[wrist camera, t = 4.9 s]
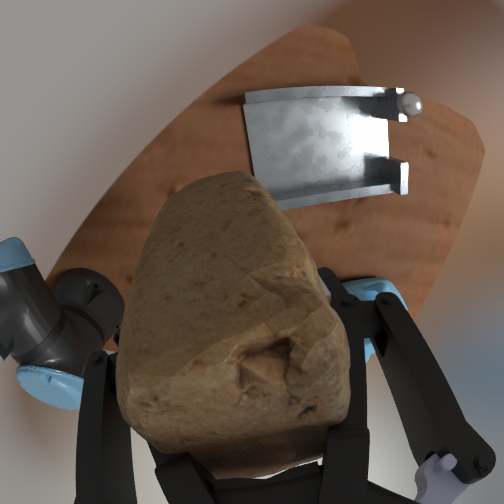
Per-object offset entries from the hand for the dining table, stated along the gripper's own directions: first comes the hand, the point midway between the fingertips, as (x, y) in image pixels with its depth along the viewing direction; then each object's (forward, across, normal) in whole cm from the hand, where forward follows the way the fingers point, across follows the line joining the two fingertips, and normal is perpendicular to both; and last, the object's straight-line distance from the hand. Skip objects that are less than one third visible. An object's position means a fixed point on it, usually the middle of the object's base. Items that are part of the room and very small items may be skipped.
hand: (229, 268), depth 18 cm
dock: (+24, +18, +4) cm, 31 cm away
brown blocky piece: (+7, 0, 0) cm, 7 cm away
